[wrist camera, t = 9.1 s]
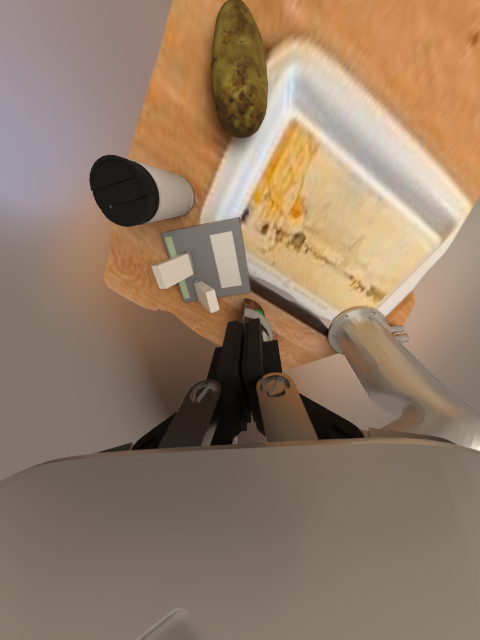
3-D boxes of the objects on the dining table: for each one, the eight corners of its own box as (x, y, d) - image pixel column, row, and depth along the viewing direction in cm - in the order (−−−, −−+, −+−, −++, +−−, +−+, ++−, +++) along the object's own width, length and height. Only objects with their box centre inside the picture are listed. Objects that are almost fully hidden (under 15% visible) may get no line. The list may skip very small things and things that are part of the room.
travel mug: (201, 210, 39) (161, 218, 22) (168, 219, 41) (104, 234, 23) (189, 169, 37) (132, 142, 19) (154, 180, 38) (68, 164, 20)
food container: (264, 342, 53) (267, 371, 44) (239, 339, 53) (236, 367, 44) (274, 295, 47) (279, 317, 38) (246, 291, 47) (244, 313, 38)
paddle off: (199, 277, 43) (214, 287, 36) (204, 298, 45) (219, 311, 38) (191, 280, 42) (205, 290, 35) (197, 300, 44) (211, 314, 37)
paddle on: (192, 249, 39) (157, 263, 33) (198, 273, 42) (166, 290, 35) (185, 250, 40) (150, 264, 34) (192, 273, 42) (160, 290, 36)
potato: (284, 31, 29) (294, -22, 22) (258, 150, 35) (259, 138, 28) (222, 11, 28) (212, -50, 21) (207, 136, 34) (195, 120, 27)
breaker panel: (239, 217, 40) (238, 218, 37) (250, 287, 46) (250, 292, 43) (167, 231, 42) (161, 233, 39) (187, 296, 48) (183, 302, 45)
